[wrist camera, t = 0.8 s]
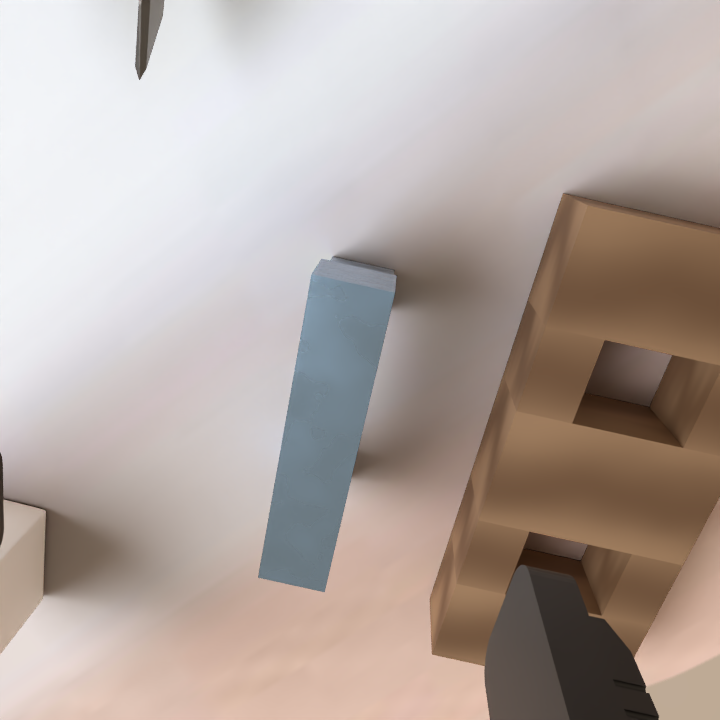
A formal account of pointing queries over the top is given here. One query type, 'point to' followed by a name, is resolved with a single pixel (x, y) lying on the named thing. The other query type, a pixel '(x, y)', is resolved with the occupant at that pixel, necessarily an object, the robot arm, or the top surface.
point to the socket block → (594, 429)
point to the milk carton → (20, 567)
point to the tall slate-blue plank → (325, 417)
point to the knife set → (147, 31)
